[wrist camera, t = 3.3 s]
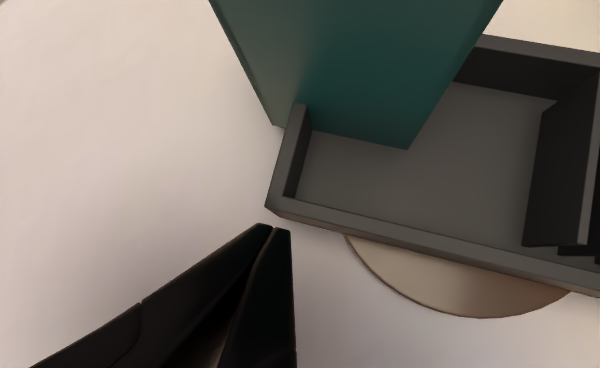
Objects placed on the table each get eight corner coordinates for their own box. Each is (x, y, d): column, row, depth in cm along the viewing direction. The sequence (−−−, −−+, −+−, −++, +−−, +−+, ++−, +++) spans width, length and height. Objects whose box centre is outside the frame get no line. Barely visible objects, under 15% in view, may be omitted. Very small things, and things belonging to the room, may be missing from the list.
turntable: (609, 339, 16) (626, 344, 15) (311, 289, 18) (309, 291, 17) (609, 63, 18) (624, 52, 17) (346, 42, 20) (346, 32, 19)
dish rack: (659, 313, 15) (1742, 505, 3) (248, 209, 17) (73, 118, 6) (678, 116, 16) (1489, -218, 5) (294, 47, 19) (222, -279, 7)
